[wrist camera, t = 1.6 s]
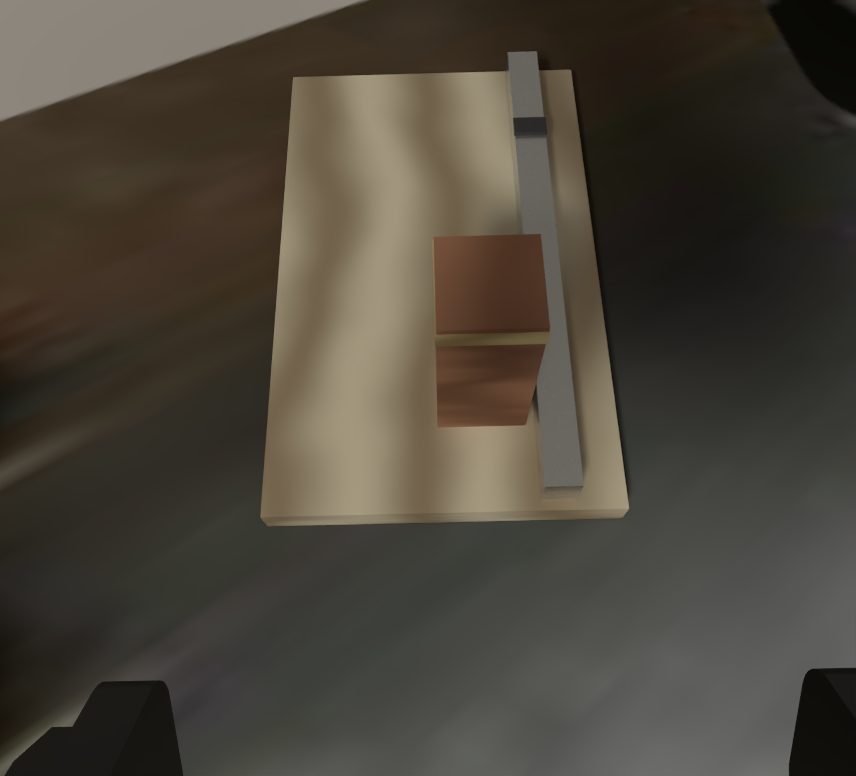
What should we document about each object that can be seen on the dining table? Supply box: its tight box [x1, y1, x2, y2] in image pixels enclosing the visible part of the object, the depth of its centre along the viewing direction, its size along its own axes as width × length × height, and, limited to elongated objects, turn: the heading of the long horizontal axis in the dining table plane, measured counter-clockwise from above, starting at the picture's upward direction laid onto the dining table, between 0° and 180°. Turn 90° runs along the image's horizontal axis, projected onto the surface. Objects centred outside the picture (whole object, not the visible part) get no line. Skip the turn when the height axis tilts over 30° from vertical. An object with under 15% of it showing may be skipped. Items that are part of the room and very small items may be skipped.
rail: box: [505, 51, 584, 499], centre depth 38 cm, size 2×25×2 cm, turn 1°
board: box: [261, 70, 629, 526], centre depth 40 cm, size 16×26×2 cm, turn 1°
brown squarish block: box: [432, 234, 551, 428], centre depth 32 cm, size 4×4×9 cm
